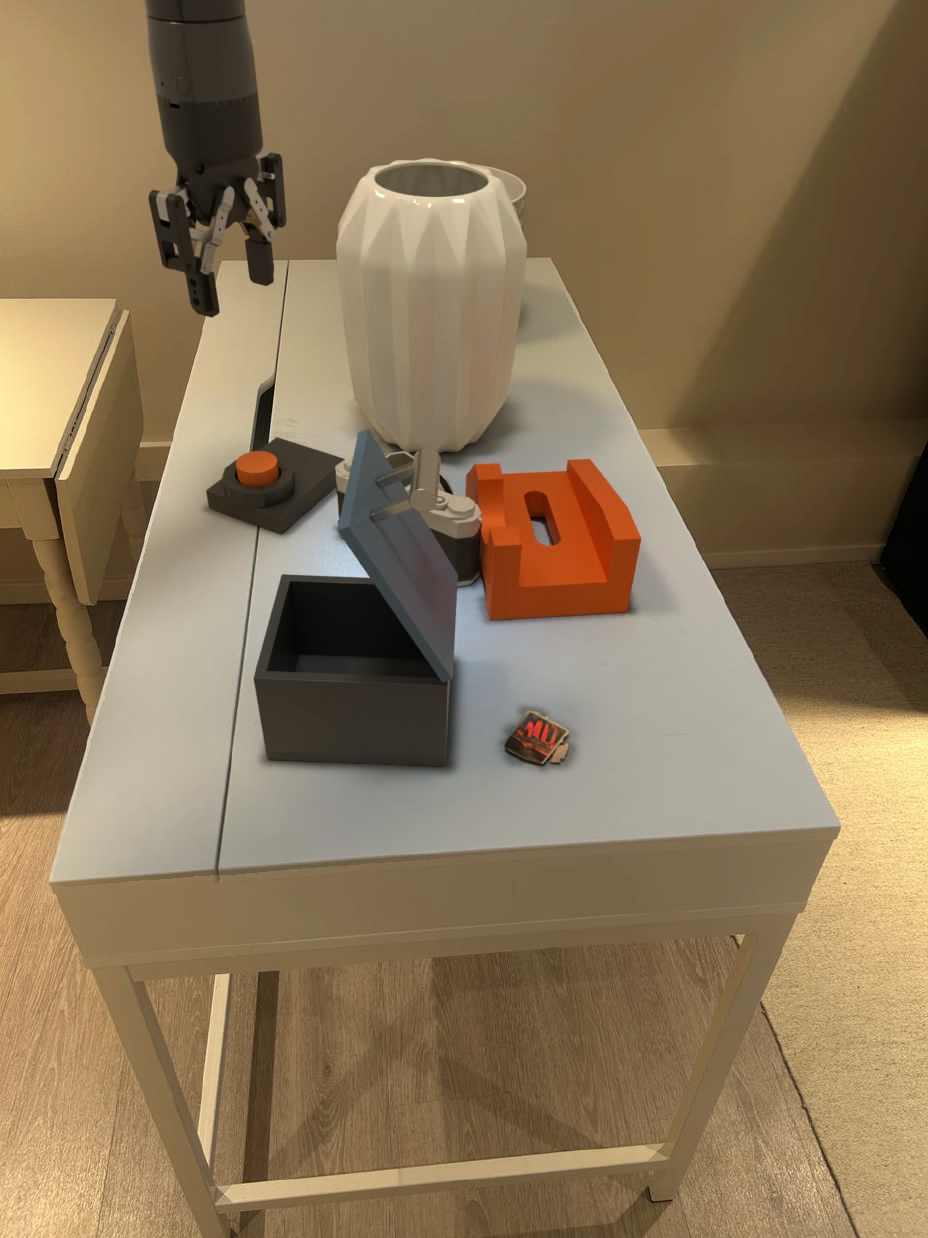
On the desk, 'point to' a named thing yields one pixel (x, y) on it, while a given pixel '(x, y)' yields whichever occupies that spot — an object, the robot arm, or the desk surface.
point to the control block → (277, 487)
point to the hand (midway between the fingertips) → (235, 297)
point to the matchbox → (537, 739)
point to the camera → (438, 519)
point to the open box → (346, 679)
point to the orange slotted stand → (583, 542)
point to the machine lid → (403, 545)
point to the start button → (257, 468)
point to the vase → (430, 299)
